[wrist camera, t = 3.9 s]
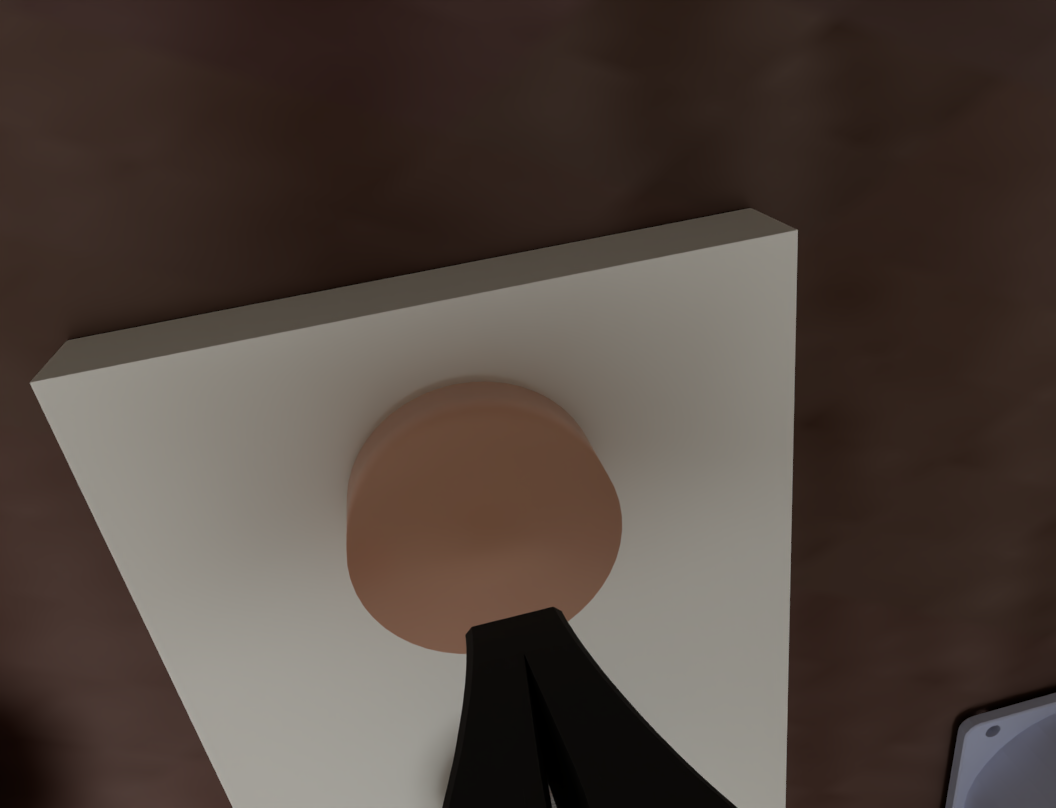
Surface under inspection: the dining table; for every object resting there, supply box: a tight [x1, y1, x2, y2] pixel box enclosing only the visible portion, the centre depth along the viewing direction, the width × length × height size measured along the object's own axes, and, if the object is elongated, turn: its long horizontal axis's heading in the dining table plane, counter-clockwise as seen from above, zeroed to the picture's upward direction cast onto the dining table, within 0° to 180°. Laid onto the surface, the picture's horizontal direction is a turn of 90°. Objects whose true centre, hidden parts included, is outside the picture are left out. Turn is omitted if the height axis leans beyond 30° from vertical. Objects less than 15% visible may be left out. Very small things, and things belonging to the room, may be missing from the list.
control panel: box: [30, 208, 798, 808], centre depth 21 cm, size 14×26×2 cm, turn 8°
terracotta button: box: [346, 382, 622, 654], centre depth 15 cm, size 5×5×2 cm
